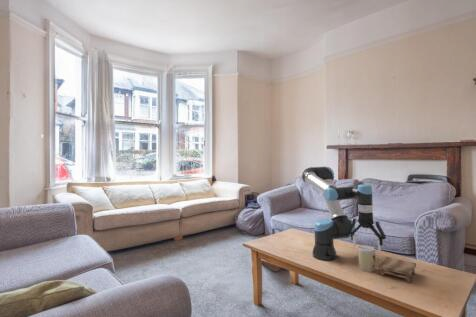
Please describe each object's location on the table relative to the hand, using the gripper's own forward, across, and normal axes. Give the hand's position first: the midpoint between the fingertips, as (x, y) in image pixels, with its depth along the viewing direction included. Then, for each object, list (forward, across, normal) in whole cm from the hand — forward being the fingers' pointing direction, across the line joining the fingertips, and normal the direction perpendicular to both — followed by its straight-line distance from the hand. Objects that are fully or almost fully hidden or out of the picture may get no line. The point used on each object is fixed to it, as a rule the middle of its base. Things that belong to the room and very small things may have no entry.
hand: (366, 248), depth 153 cm
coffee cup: (+12, 0, 0) cm, 12 cm away
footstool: (+12, +15, +3) cm, 19 cm away
